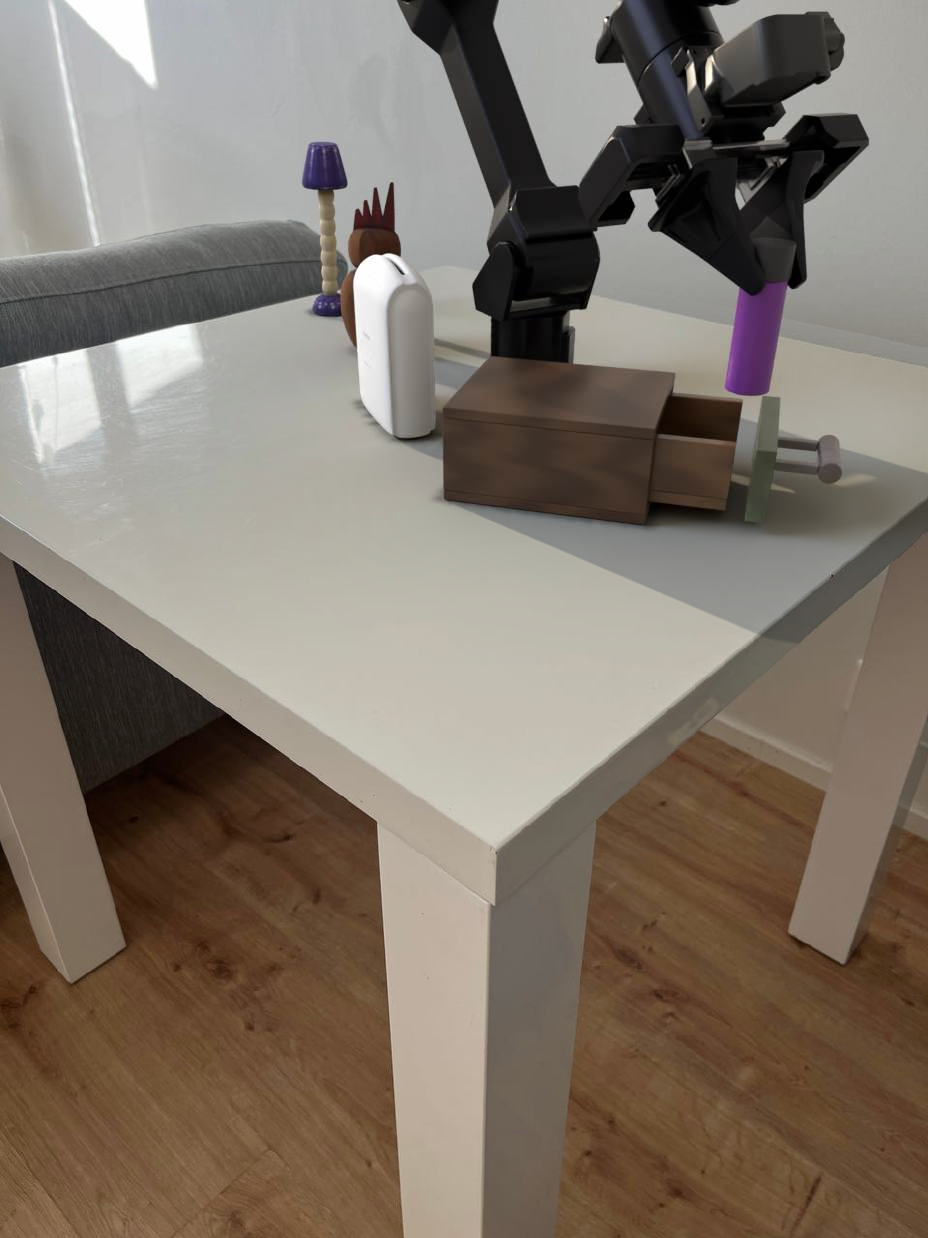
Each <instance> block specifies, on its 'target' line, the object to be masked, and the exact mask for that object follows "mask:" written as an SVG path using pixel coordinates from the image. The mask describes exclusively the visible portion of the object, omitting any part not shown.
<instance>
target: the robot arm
mask: <svg viewBox="0 0 928 1238" xmlns="http://www.w3.org/2000/svg"><path fill="white" fill-rule="evenodd" d="M396 2H397V4H398V7H399V9H400V11H401V13H402V16H403V17H404V19H405V21H406V23H407V26H408V28H409V30H410V31H411V33H412V34H413V35H414V36H415V37H416V38H417V39H419V40H420V41H422V43H424V44H425V45H426V46H428V48H430V49H431V50H432V51H434V52H435V54H437V55H438V56H439V58H440V60H441V63H442V66H443V68H444V71H445V74H446V77H447V80H448V82H449V84H450V88H451V91H452V94H453V97H454V99H455V102H456V105H457V108H458V111H459V113H460V116H461V119H462V122H463V124H464V127H465V131H466V133H467V136H468V139H469V141H470V144H471V147H472V150H473V153H474V155H475V158H476V161H477V164H478V166H479V169H480V173H481V175H482V178H483V180H484V181H483V182H484V183H485V186H486V189H487V192H488V194H489V197H490V200H491V204H492V206H493V213H492V217H491V221H490V226H489V230H488V235H487V239H486V247H487V252H488V255H489V256H488V257H487V259H486V261H485V262H484V264H483V265H482V267H481V268H480V270H479V272H478V273H477V275H476V277H475V278H474V280H473V282H472V284H471V287H472V288H471V290H472V297H473V303H474V309H475V310H476V311H477V312H479V313H481V314H483V315H486V316H488V317H489V318H490V356H493V357H504V358H515V359H527V360H538V361H549V362H561V363H572V364H574V360H575V346H576V345H575V344H576V327H575V326H573V325H570V321H571V320H570V317H571V311H577V310H578V311H583V310H587V308H588V305H589V302H590V298H591V296H592V292H593V290H594V289H593V288H594V285H595V282H596V278H597V275H598V272H599V270H600V264H601V250H600V246H599V243H598V239H597V237H596V234H595V232H598V228H605V227H614V226H624V225H626V224H627V223H628V221H629V220H630V219H631V217H632V215H633V213H634V211H635V208H636V204H635V201H634V199H633V197H632V195H631V193H632V191H640V190H650V189H651V190H652V192H653V194H654V196H655V199H654V203H655V205H656V207H657V210H656V211H655V213H654V214H653V215H652V216H651V217H650V219H649V220H648V222H647V227H648V229H649V230H650V231H651V232H652V233H662V234H663V235H665V236H666V237H667V238H670V239H671V240H673V241H674V242H676V243H677V244H679V245H680V246H682V247H683V248H685V249H687V250H688V251H689V252H691V253H692V254H693V255H695V256H697V257H698V258H700V259H701V260H702V261H704V262H705V263H707V264H708V265H709V266H711V267H712V268H713V269H715V271H717V272H719V273H720V274H721V275H723V276H724V277H725V278H727V279H728V280H729V281H730V282H732V283H733V284H734V285H735V286H737V288H739V287H740V288H741V289H742V290H744V291H745V292H746V293H748V294H749V295H750V296H755V295H758V294H759V293H760V292H761V291H762V290H763V289H764V288H765V286H766V282H765V278H764V275H763V271H762V268H761V264H760V261H759V258H758V256H757V253H756V250H755V248H754V245H753V243H752V240H751V238H780V239H786V240H790V241H793V242H795V243H796V250H795V256H794V261H793V267H792V273H791V278H790V279H789V280H788V286H787V287H788V288H789V289H791V290H798V289H799V288H800V287H801V286H803V285H804V283H806V281H807V279H808V271H807V270H808V268H807V267H808V266H807V251H806V235H805V209H804V208H805V204H807V203H810V202H812V201H813V200H815V199H816V198H817V197H819V195H820V194H821V193H822V192H823V191H824V190H825V189H826V188H827V187H828V186H830V184H832V182H833V181H834V180H835V179H836V178H837V177H838V176H839V175H841V174H842V172H843V171H845V169H847V167H848V166H849V165H851V163H853V162H854V160H855V159H856V158H858V157H859V156H860V155H861V153H863V152H864V151H865V150H866V149H867V148H868V147H869V146H870V138H869V136H868V134H867V132H866V129H865V127H864V125H863V123H862V121H861V119H860V116H859V115H858V114H857V113H851V112H850V113H849V112H829V113H828V112H827V113H811V114H802V115H801V116H800V117H799V119H798V120H797V121H796V122H795V123H794V124H793V125H792V127H790V128H789V130H788V131H787V132H786V133H785V134H784V135H783V137H782V138H780V139H779V138H778V139H767V140H766V136H765V132H766V130H767V129H768V128H775V126H776V125H777V124H778V123H779V122H780V120H782V118H783V117H784V116H785V115H786V113H787V111H786V109H785V107H784V105H783V103H782V102H785V101H786V100H788V99H789V98H791V97H794V96H796V95H797V94H799V93H800V92H802V91H804V90H806V89H808V88H809V87H811V86H813V85H816V86H817V85H818V86H819V85H822V84H823V83H826V82H827V81H828V80H829V79H830V78H831V76H832V72H833V71H835V70H837V69H838V68H839V67H840V66H841V65H842V62H843V61H844V57H845V48H844V46H845V42H846V36H845V34H844V33H843V32H842V31H841V29H840V28H839V26H838V24H837V23H836V22H835V18H834V17H832V16H831V14H830V12H828V11H826V10H825V11H823V10H822V11H820V10H819V11H816V10H815V11H813V10H812V11H809V10H808V11H806V12H805V13H777V14H771V15H767V16H765V17H761V18H760V19H758V20H756V21H754V22H753V23H751V24H750V25H748V26H747V27H745V28H744V29H742V30H741V31H740V32H738V33H736V34H735V35H734V36H732V37H731V38H729V39H728V40H725V39H724V38H723V35H722V33H721V31H720V29H719V26H718V24H717V23H716V20H715V18H714V15H713V14H712V11H711V9H710V8H712V7H714V6H724V7H725V6H731V5H736V4H737V3H738V2H740V0H618V2H617V4H616V5H615V7H614V9H613V11H612V12H611V15H606V16H605V17H604V19H603V25H602V31H601V35H600V36H599V38H598V40H597V42H596V45H595V53H594V54H595V55H594V60H595V63H596V64H598V65H605V64H607V65H608V64H625V67H626V69H627V71H628V73H629V76H630V77H631V80H632V83H633V85H634V87H635V89H636V91H637V92H636V93H637V94H638V96H639V98H640V100H641V103H642V105H641V106H640V108H639V109H638V110H637V112H636V114H635V115H634V116H633V121H634V123H635V124H621V125H616V127H615V128H614V129H613V131H612V132H611V134H610V136H609V137H608V138H607V140H606V142H605V143H604V144H603V146H602V147H601V149H600V150H599V152H598V153H597V155H596V157H595V158H594V160H593V161H592V163H591V164H590V166H589V167H588V169H587V170H586V171H585V173H584V175H583V176H582V177H581V180H580V181H579V184H578V185H577V184H571V185H560V186H558V185H557V184H556V183H554V182H553V181H552V180H551V179H550V176H549V174H548V172H547V169H546V166H545V164H544V163H545V162H544V161H543V158H542V155H541V153H540V149H539V147H538V144H537V141H536V138H535V135H534V133H533V130H532V128H531V127H532V126H531V125H530V122H529V119H528V117H527V114H526V110H525V108H524V105H523V103H522V99H521V97H520V95H519V91H518V89H517V86H516V84H515V81H514V78H513V75H512V72H511V69H510V67H509V64H508V61H507V59H506V56H505V53H504V51H503V48H502V45H501V42H500V40H499V37H498V34H497V31H496V28H495V18H496V14H497V11H498V8H499V7H498V6H499V3H500V0H396ZM736 190H738V191H739V193H740V195H741V197H742V200H743V202H744V204H743V206H742V207H741V208H740V207H739V204H738V202H737V198H736V192H737V191H736Z"/></svg>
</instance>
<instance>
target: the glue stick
mask: <svg viewBox="0 0 928 1238" xmlns="http://www.w3.org/2000/svg"><path fill="white" fill-rule="evenodd" d="M751 240H752V243H753V245H754V248H755V250H756V253H757V256H758V258H759V261H760V264H761V268H762V271H763V275H764V278H765V282H766V286H765V288H764V289H763V290H762V291H761V292H760V293H759V294H758V295H755V296H750V295H749V294H748V293H746V292H745V291H744V290H742V289H741V288H740V287H738V293H737V301H736V302H737V303H736V308H735V314H734V320H733V328H732V335H731V342H730V348H729V355H728V361H727V369H726V374H725V381H724V389H725V390H726V391H727V392H729V393H731V394H734V395H739V396H745V397H758V396H759V397H760V396H765V395H766V394H768V393H769V392H770V389H771V383H772V377H773V373H774V372H773V371H774V366H775V360H776V354H777V347H778V343H779V337H780V331H781V326H782V319H783V314H784V308H785V303H786V296H787V291H788V287H789V286H788V280H789V279H790V278H791V273H792V267H793V261H794V256H795V250H796V243H795V242H793V241H790V240H786V239H780V238H751Z"/></svg>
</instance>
